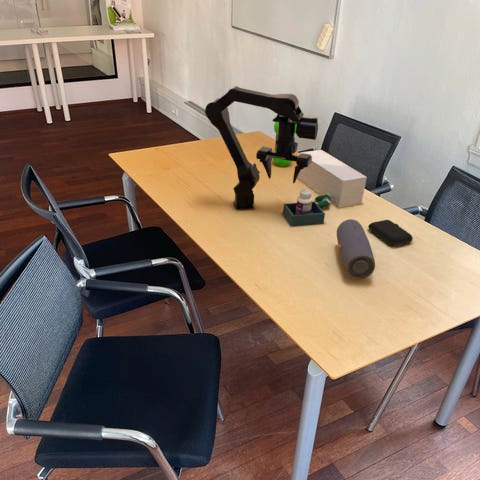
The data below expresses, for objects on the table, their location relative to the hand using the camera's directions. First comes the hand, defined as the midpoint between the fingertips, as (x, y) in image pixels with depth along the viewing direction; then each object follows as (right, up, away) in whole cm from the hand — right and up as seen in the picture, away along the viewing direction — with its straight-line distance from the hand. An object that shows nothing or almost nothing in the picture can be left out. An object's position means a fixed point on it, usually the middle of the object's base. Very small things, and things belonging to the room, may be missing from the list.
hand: (281, 180), depth 167 cm
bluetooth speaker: (+20, -32, -19) cm, 43 cm away
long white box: (+21, +3, +25) cm, 33 cm away
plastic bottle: (+4, +21, +46) cm, 51 cm away
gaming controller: (+17, -6, +13) cm, 22 cm away
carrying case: (+37, -21, -5) cm, 43 cm away
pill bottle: (+8, -13, +3) cm, 15 cm away
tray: (+8, -13, +4) cm, 16 cm away
